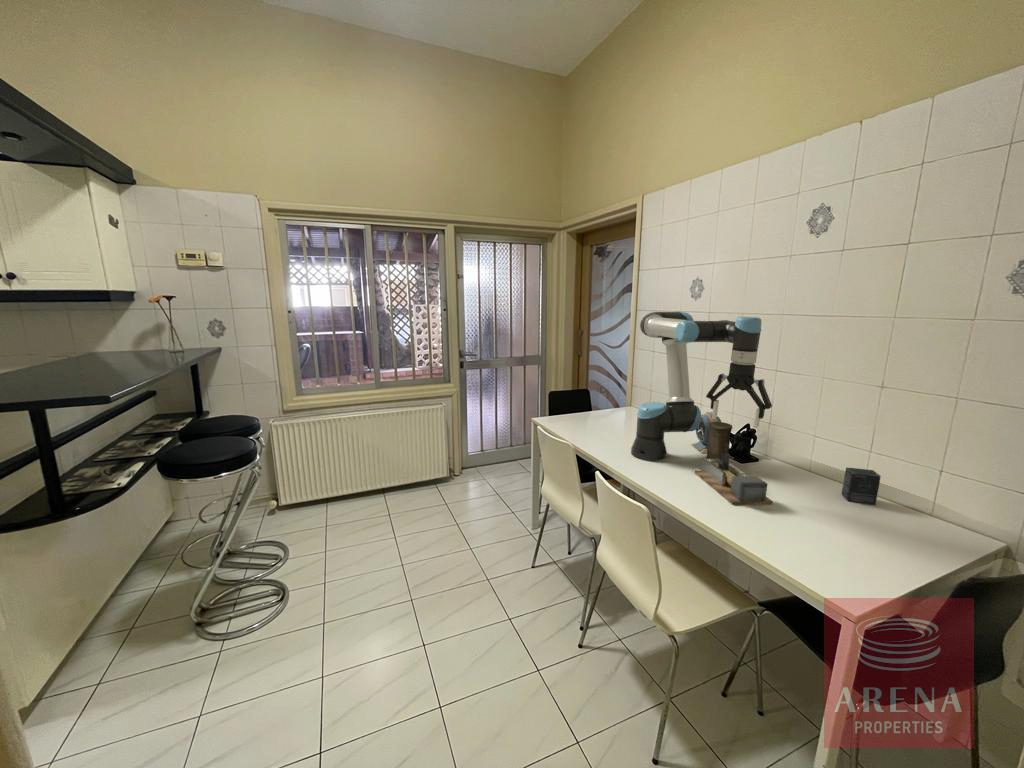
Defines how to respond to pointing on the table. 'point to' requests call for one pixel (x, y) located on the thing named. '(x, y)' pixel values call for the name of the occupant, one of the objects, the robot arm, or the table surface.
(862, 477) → the box
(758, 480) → the socket
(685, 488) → the table surface
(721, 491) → the board
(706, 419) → the alarm clock
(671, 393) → the robot arm
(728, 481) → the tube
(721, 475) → the grey tilted block
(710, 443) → the container
